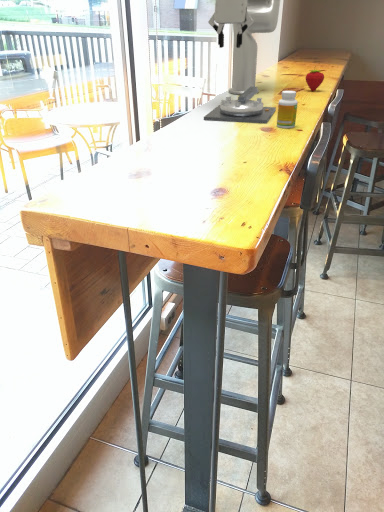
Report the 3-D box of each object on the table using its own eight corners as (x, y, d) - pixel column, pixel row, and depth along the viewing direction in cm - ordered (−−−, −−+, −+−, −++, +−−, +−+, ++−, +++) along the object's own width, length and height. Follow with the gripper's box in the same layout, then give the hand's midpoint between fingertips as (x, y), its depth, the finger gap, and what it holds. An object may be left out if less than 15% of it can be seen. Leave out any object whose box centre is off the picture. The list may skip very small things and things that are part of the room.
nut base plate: (219, 107, 146) (219, 103, 146) (275, 110, 141) (275, 106, 140) (203, 120, 130) (203, 115, 129) (266, 123, 125) (266, 119, 124)
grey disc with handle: (235, 98, 155) (235, 86, 153) (272, 100, 151) (273, 87, 149) (215, 114, 131) (215, 100, 129) (258, 116, 127) (259, 102, 125)
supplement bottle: (295, 128, 119) (299, 93, 114) (276, 128, 120) (279, 93, 115) (294, 124, 123) (298, 90, 118) (276, 124, 124) (279, 89, 119)
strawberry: (322, 92, 169) (325, 66, 164) (303, 92, 171) (306, 66, 166) (322, 90, 174) (326, 64, 169) (304, 89, 176) (307, 64, 171)
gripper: (261, -19, 128) (257, 46, 137) (208, -17, 133) (208, 46, 142) (256, -20, 122) (253, 48, 131) (202, -18, 126) (202, 48, 136)
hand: (229, 46), depth 136 cm, fingers open, 5 cm apart
